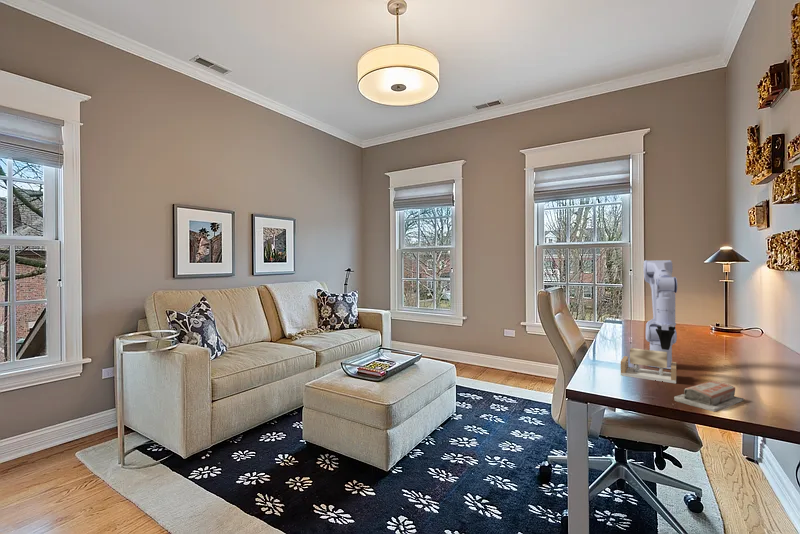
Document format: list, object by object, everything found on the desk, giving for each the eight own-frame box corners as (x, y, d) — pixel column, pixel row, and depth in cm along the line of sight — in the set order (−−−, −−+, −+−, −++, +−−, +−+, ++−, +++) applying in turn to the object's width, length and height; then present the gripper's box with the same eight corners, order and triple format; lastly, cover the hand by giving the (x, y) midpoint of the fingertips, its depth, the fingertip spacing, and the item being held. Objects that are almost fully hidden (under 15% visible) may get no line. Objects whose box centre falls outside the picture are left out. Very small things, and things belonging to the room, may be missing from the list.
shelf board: (667, 366, 135) (667, 351, 135) (666, 368, 132) (666, 353, 132) (631, 361, 141) (631, 348, 141) (629, 363, 138) (629, 349, 138)
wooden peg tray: (624, 368, 146) (624, 355, 146) (676, 376, 136) (676, 362, 136) (620, 375, 137) (620, 361, 137) (676, 383, 127) (676, 368, 127)
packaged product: (703, 377, 119) (744, 386, 111) (703, 392, 119) (744, 402, 111) (673, 385, 111) (714, 395, 102) (673, 402, 111) (714, 413, 102)
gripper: (653, 307, 146) (653, 343, 146) (651, 311, 134) (651, 349, 134) (676, 309, 142) (676, 345, 142) (675, 312, 130) (675, 352, 130)
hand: (665, 347), depth 138 cm, fingers open, 7 cm apart
